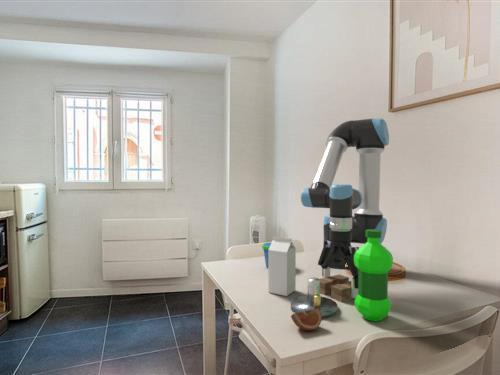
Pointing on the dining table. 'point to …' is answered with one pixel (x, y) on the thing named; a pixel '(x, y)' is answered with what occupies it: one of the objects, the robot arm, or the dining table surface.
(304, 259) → the dining table surface
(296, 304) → the post base
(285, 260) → the milk carton
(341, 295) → the flange block
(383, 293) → the plastic bottle
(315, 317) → the fruit slice
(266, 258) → the snack cup
